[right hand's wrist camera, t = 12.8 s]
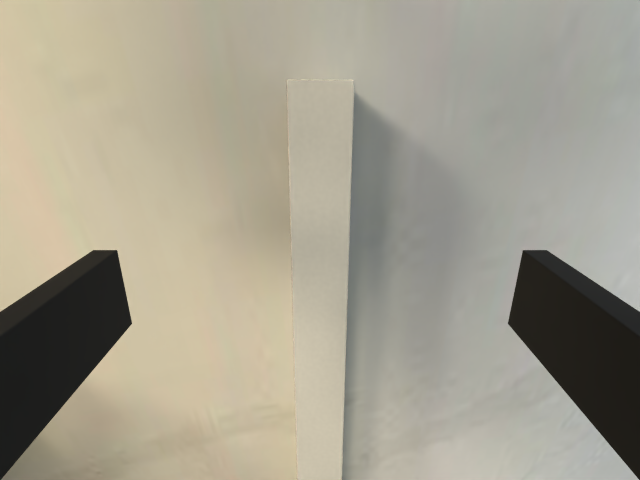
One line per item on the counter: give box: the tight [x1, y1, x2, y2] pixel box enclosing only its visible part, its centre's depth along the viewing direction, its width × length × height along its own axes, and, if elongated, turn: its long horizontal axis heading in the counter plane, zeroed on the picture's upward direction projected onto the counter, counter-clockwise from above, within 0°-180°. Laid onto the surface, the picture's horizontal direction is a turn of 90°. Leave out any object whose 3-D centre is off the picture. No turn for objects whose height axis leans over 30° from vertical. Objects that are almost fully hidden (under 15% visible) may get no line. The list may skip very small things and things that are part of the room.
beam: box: [286, 79, 354, 480], centre depth 39 cm, size 63×4×8 cm, turn 0°
